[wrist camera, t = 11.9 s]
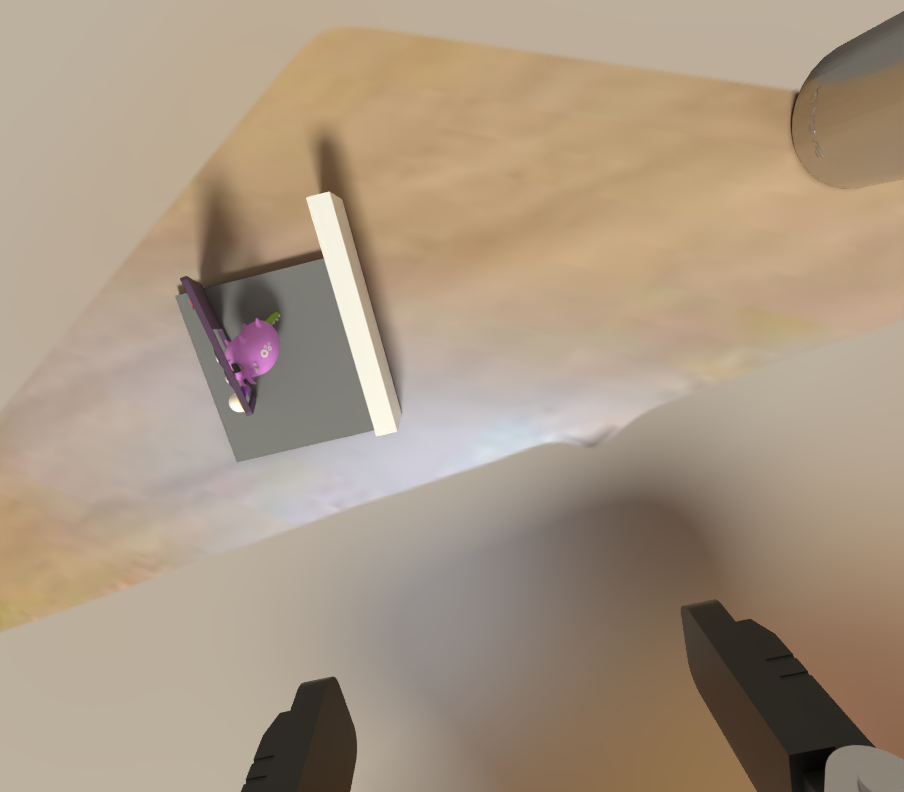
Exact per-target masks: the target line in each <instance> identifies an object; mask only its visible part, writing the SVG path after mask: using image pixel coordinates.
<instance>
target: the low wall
mask: <svg viewBox="0 0 904 792" xmlns="http://www.w3.org/2000/svg"><path fill="white" fill-rule="evenodd" d="M306 199H307V202H308V206H309V209H310V212H311V216H312V219H313V223H314V226H315V230H316V233H317V236H318V240H319V243H320V247H321V250H322V253H323V257H324V260H325V264H326V267H327V270H328V274H329V277H330V281H331V284H332V287H333V291H334V294H335V298H336V301H337V304H338V308H339V311H340V315H341V318H342V321H343V325H344V328H345V332H346V335H347V338H348V342H349V345H350V349H351V352H352V355H353V359H354V362H355V366H356V369H357V372H358V376H359V379H360V383H361V386H362V389H363V393H364V396H365V400H366V403H367V406H368V410H369V413H370V417H371V420H372V423H373V427H374V430H375V434H376V436H380V435H385V434H389V433H393V432H397V431H398V427H399V424H400V420H401V417H402V413H401V410H400V406H399V402H398V399H397V395H396V392H395V388H394V384H393V381H392V377H391V374H390V370H389V366H388V363H387V359H386V355H385V352H384V348H383V345H382V341H381V337H380V334H379V330H378V327H377V323H376V319H375V316H374V312H373V309H372V305H371V301H370V298H369V294H368V291H367V287H366V283H365V280H364V276H363V273H362V269H361V265H360V262H359V258H358V255H357V251H356V247H355V244H354V240H353V236H352V233H351V229H350V226H349V222H348V218H347V215H346V211H345V208H344V204H343V200H342V199H341V198H339V197H337V196H336V195H334V194H333V193H331V192H330V191H329V192H325V193H322V194H318V195H314V196H310V197H306Z"/></svg>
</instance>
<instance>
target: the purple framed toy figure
mask: <svg viewBox="0 0 904 792" xmlns="http://www.w3.org/2000/svg"><path fill="white" fill-rule="evenodd" d="M180 280H181V282H182V284H183V286H184V288H185V290H186V292H187V294H188V296H189V299H190V303H191V305H192V307H193V310H195V311H196V313H197V315H198V317H199V319H200V321H201V323H202V325H203V327H204V330H205V331H206V334H207V336H208V338H209V340H210V342H211V344H212V346H213V349H214V353H215V357H216V360H217V362H219V364H220V365H221V366H222V368H223V369H224V372H225V373H224V374H225V376H226V377H225V379H226V381H227V383H229V384H230V386H231V387H232V388H233V390H234V391H235V393H234V394H233V395H231V397H230V399H229V406H230V408H231V409H232V410H234V411H236V412H245V414H246V416H250V415H252V414H253V413H254V409H255V405H256V401H257V400H256V398H255V396H254V394H253V392H252V390H251V387H250V385H249V383H251V384H256V382H254V381H253V380H252V378H251V377H255V376H259V375H262V374H264V373H266V372H267V371H269V370H270V369H271V368H272V367H273V365H274V364H275V362H276V360H277V357H278V354H279V349H280V341H279V337H278V334H277V332H276V330H275V329H274V327H273V326H272V325H273V324H275V320H277V321H278V320H279V319H277V317H278V318H279V317H280V314H279V313H278V312H274V313H273V314H271V315H270V317H269V318H267V319H266V321H262V320H259V319H258V318H256V319H255V321H254V322H252V323H250V324H249V325H246V324H245V323H244V324H243V330H242V331H241V332H240V333H239V335H238V336H236V337H235V338H234V339H233V340H232V341H231V342H229V341H228V339H227V337H226V335H225V333H224V331H223V329H222V327H221V324H220V322H219V320H218V318H217V316H216V314H215V312H214V310H213V308H212V306H211V303H210V301H209V299H208V297H207V295H206V293H205V291H204V289H203V287H202V285H201V284H199V283H198V282H196V281H194V280H192V279H191V278H189V277H187V276H185V277H182V278H180ZM214 329H216V330H217V332H218V334H219V336H220V338H221V340H222V342H223V344H224V346H225V348H226V350H225V354H224V352H223V350H222V348H221V346H220V344H219V342H218V340H217V338H216V335H215V333H214V331H213V330H214ZM234 374H236V376H235V375H234ZM237 380H239V381H240V383H241V387H240V385H239V383H238V381H237ZM247 380H248V381H249V383H248V381H247ZM247 394H248V396H249V398H250V400H249V403H248V402H247V400H246V396H247Z"/></svg>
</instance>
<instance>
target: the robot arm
mask: <svg viewBox="0 0 904 792" xmlns="http://www.w3.org/2000/svg"><path fill="white" fill-rule="evenodd" d="M792 136H793V142H794V148H795V150H796V153H797V155H798V157H799V160H800V162H801V163H802V164H803V166H804V167H805V169H806V170H807V171H808V172H809V173H810V174H811V175H812V176H813V177H815V178H816V179H817V180H818V181H821V182H823V183H825V184H827V185H829V186H833V187H838V188H859V187H865V186H870V185H876V184H881V183H886V182H892V181H897V180H903V179H904V11H903V12H901V13H900V14H898V15H896V16H894V17H892V18H890V19H888V20H887V21H885V22H883V23H881V24H880V25H878V26H876V27H874V28H872V29H870V30H868V31H867V32H865V33H863V34H861V35H859V36H858V37H856V38H854V39H852V40H850V41H849V42H847V43H845V44H843V45H841V46H839V47H838V48H836V49H835V50H834V51H832V52H831V53H830V54H828V55H827V56H826V57H824V58H823V59H822V60H821V61H820V62H819V64H818V65H817V66H816V67H815V68H814V69H813V70H812V71H811V73H810V74H809V76H808V78H807V79H806V81H805V82H804V84H803V86H802V88H801V90H800V93H799V95H798V97H797V100H796V103H795V108H794V112H793V117H792ZM681 617H682V624H683V631H684V637H685V644H686V651H687V658H688V664H689V668H690V671H691V674H692V677H693V680H694V682H695V684H696V687H697V689H698V691H699V693H700V695H701V696H702V698H703V700H704V701H705V703H706V705H707V707H708V708H709V710H710V712H711V714H712V715H713V717H714V719H715V720H716V722H717V724H718V725H719V727H720V729H721V730H722V732H723V734H724V736H725V737H726V739H727V741H728V743H729V744H730V746H731V748H732V749H733V751H734V753H735V755H736V756H737V758H738V760H739V761H740V763H741V765H742V767H743V768H744V770H745V772H746V773H747V775H748V777H749V778H750V780H751V782H752V784H753V785H754V787H755V789H756V790H757V792H904V760H903V759H901V758H900V757H897V756H895V755H893V754H891V753H889V752H886V751H884V750H881V749H878V748H876V747H875V746H874V745H873V744H872V743H871V742H870V741H869V740H868V739H867V738H866V737H865V735H864V734H863V733H862V732H861V731H860V730H859V729H858V727H857V726H856V725H855V724H854V723H853V722H852V721H851V720H850V718H849V717H848V716H847V715H846V714H845V713H844V712H843V710H842V709H841V708H840V707H839V706H838V705H837V704H836V703H835V701H834V700H833V699H832V698H831V697H830V696H829V695H828V693H827V692H826V691H825V690H824V689H823V688H822V687H821V685H819V683H818V682H817V681H816V680H815V679H814V678H813V676H812V675H809V674H808V671H807V670H806V669H805V667H804V666H803V665H802V664H801V663H800V662H799V661H798V659H796V658H794V656H793V654H792V653H791V651H790V650H789V649H788V648H787V647H786V646H785V645H784V644H783V642H782V641H781V640H780V639H779V638H778V637H777V636H776V634H774V633H773V632H771V631H769V630H767V629H766V628H765V627H763V626H761V625H760V624H758V623H756V622H755V621H753V620H751V619H747V620H742V621H737V622H735V621H734V619H733V618H732V617H731V615H730V614H729V613H728V612H727V611H726V609H725V608H724V607H723V606H722V604H721V603H720V602H719V601H718V600H716V599H714V600H708V601H704V602H699V603H694V604H689V605H684V606H682V607H681ZM356 756H357V739H356V732H355V728H354V724H353V722H352V719H351V716H350V713H349V710H348V708H347V705H346V702H345V699H344V696H343V694H342V691H341V688H340V685H339V683H338V681H337V679H336V678H335V677H328V678H324V679H318V680H314V681H309V682H304V683H302V684H301V685H300V686H299V688H298V690H297V693H296V696H295V699H294V702H293V704H292V707H291V710H290V711H287V712H282V713H280V714H279V715H278V716H277V718H276V719H275V720H274V722H273V723H272V724H271V726H270V727H269V728H268V729H267V731H266V732H265V734H264V735H263V737H262V740H261V742H260V745H259V747H258V750H257V752H256V755H255V758H254V764H252V765H251V767H250V770H249V773H248V775H247V778H246V784H244V785H243V788H242V790H241V792H350V790H351V785H352V779H353V774H354V768H355V763H356Z"/></svg>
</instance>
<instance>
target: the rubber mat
mask: <svg viewBox="0 0 904 792" xmlns="http://www.w3.org/2000/svg"><path fill="white" fill-rule="evenodd" d="M204 291H205V293H206V295H207V297H208V299H209V301H210V303H211V306H212V308H213V310H214V312H215V314H216V316H217V318H218V320H219V322H220V324H221V327H222V329H223V331H224V333H225V335H226V337H227V339H228V341H229V342H231V341H232V340H233V339H234V338H235V337H236V336H238V335H239V333H240V332H241V331H242V330H243V324H244V323H245V324H246V325H249V324H250V323H252V322H254V321H255V319H256V318H258V319H259V320H262V321H266V319H267V318H269V317H270V315H271V314H273V313H274V312H278V313H279V314H280V317H279V318H278V317H277V319H279V320H278V321H277V320H275V324H273V325H272V326H273V327H274V329H275V330H276V332H277V334H278V337H279V341H280V349H279V354H278V357H277V360H276V362H275V364H274V365H273V367H272V368H271V369H270V370H269V371H267V372H266V373H264V374H262V375H259V376H255V377H251V378H252V380H253V381H254V382H256V384H251V383H249V381H248V380H247V381H248V383H249V385H250V387H251V390H252V392H253V394H254V396H255V398H256V400H257V401H256V405H255V409H254V413H253V414H252V415H250V416H246V414H245V412H236V411H234V410H232V409H231V408H230V406H229V399H230V397H231V395H233V394H234V393H235V391H234V390H233V388H232V387H231V386H230V384H229V383H227V381H226V379H225V377H226V376H225V374H224V373H225V372H224V369H223V368H222V366H221V365H220V364H219V362H217V360H216V357H215V353H214V349H213V346H212V344H211V342H210V340H209V338H208V336H207V334H206V331H205V330H204V327H203V325H202V323H201V321H200V319H199V317H198V315H197V313H196V311H195V310H193V307H192V305H191V303H190V299H189V296H188V294H187V293H184V294H180V295H176V296H175V297H176V300H177V302H178V305H179V308H180V311H181V313H182V316H183V319H184V321H185V324H186V327H187V329H188V332H189V335H190V337H191V340H192V343H193V345H194V348H195V351H196V353H197V356H198V359H199V362H200V364H201V367H202V370H203V372H204V375H205V378H206V380H207V383H208V386H209V388H210V391H211V394H212V396H213V399H214V402H215V404H216V407H217V410H218V413H219V415H220V418H221V421H222V423H223V426H224V429H225V431H226V434H227V437H228V439H229V442H230V445H231V447H232V450H233V453H234V455H235V458H236V461H237V462H241V461H245V460H249V459H253V458H258V457H262V456H266V455H270V454H275V453H279V452H283V451H287V450H292V449H296V448H300V447H304V446H309V445H313V444H317V443H321V442H326V441H330V440H334V439H339V438H343V437H347V436H351V435H356V434H360V433H364V432H368V431H373V430H374V427H373V423H372V420H371V417H370V413H369V410H368V406H367V403H366V400H365V396H364V393H363V389H362V386H361V383H360V379H359V376H358V372H357V369H356V366H355V362H354V359H353V355H352V352H351V349H350V345H349V342H348V338H347V335H346V332H345V328H344V325H343V321H342V318H341V315H340V311H339V308H338V304H337V301H336V298H335V294H334V291H333V287H332V284H331V281H330V277H329V274H328V270H327V267H326V264H325V260H324V258H323V259H319V260H315V261H311V262H307V263H303V264H299V265H295V266H291V267H287V268H283V269H279V270H275V271H272V272H268V273H264V274H260V275H256V276H252V277H248V278H244V279H240V280H236V281H232V282H228V283H224V284H220V285H216V286H212V287H208V288H204ZM213 331H214V333H215V335H216V338H217V340H218V342H219V344H220V346H221V348H222V350H223V352H224V354H225V350H226V348H225V346H224V344H223V342H222V340H221V338H220V336H219V334H218V332H217V330H216V329H214V330H213ZM234 375H235V376H236V374H234ZM237 381H238V383H239V385H240V387H241V383H240V381H239V380H237ZM246 400H247V402H248V403H249V400H250V398H249V396H248V394H247V396H246Z"/></svg>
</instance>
